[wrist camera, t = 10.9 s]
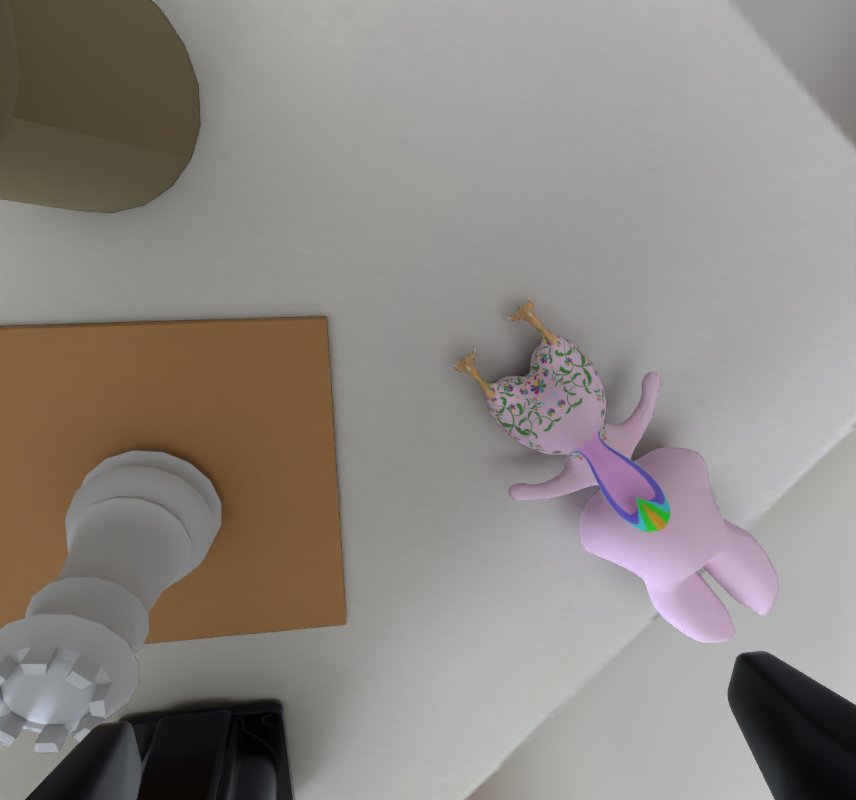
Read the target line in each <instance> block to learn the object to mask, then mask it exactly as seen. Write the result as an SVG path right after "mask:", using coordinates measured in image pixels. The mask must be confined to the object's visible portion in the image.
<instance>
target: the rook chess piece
mask: <svg viewBox="0 0 856 800" xmlns="http://www.w3.org/2000/svg"><path fill="white" fill-rule="evenodd" d="M65 525H66V534H67V537H66V538H67V547H68V556H67V559H66V561H65V563H64V565H63V568H62V570H61V572H60V574H59V575H58V577H57V578H56V580H55V581H54V582H53V583H50V584H48V585H47V586H45V587H44V588H43V589H42V590H40V591H39V592H38V593H37V594H35V595H34V596H33V597H32V599H31V601H30V603H29V606H28V608H27V610H26V613H25V618H24V619H21V620H18V621H14V622H11V623H8V624H7V625H5V626H4V627H3V628H2V629H0V743H2V744H4V745H6V746H8V747H10V746H11V744H12V743H13V742H14V741H15V740H16V738H17V737H18V735H19V733H20V731H21V730H22V729H26V730H31V731H35V732H39V733H41V734H40V735H39V737H38V739H37V741H36V743H35V749H34V753H49V752H59V751H60V749H61V747H62V745H63V743H64V741H65V739H66V737H67V735H68V733H70V732H73V731H75V732H74V735H73V737H72V738H73V739H75V740H76V741H77V742H78V743H80V741H81V740H82V739H83V738H84V737H85V736H86V735H87V734H88V733H89V732H90V731H91V730H92V729H93V728H95V727H96V726H98V725H100V724H102V722H103V720H104V719H106V718H108V717H110V716H111V715H112V714H114V713H115V712H116V711H118V710H119V709H120V708H122V707H123V706H124V705H126V704H127V703H128V702H129V701H130V699H131V698H132V696H133V694H134V692H135V690H136V688H137V686H138V684H139V668H138V660H137V658H136V656H135V655H134V653H135V652H137V651H138V650H139V649H141V647H142V645H143V643H144V642H145V640H146V638H147V636H148V634H149V620H148V613H149V611H150V610H151V608H152V607H153V605H154V604H155V602H156V601H157V599H158V598H159V596H160V595H161V593H162V592H163V590H164V589H167V588H168V587H169V586H171V585H172V584H173V583H174V582H176V581H179V580H181V579H182V578H183V577H184V576H186V575H187V574H188V573H190V572H191V571H192V570H193V569H195V568H196V567H197V566H198V565H199V564H200V563H201V562H202V561H203V560H204V558H205V556H206V554H207V552H208V550H209V548H210V546H211V544H212V542H213V541H214V538H215V536H216V534H217V532H218V530H219V528H220V527H221V501H220V499H219V497H218V495H217V493H216V491H215V489H214V487H213V485H212V483H211V481H210V480H209V479H208V478H207V477H206V476H204V475H203V474H202V473H201V472H200V471H199V470H198V469H196V468H195V467H194V466H193V465H192V464H191V463H189V462H187V461H184V460H182V459H179V458H176V457H174V456H171V455H169V454H166V453H164V452H151V451H130V452H127V453H123V454H120V455H117V456H113V457H110V458H107V459H105V460H104V461H103V462H101V463H100V464H99V465H98V466H97V467H95V468H94V469H93V470H92V471H91V472H89V473H88V474H87V475H86V476H85V479H84V481H83V483H82V486H81V487H80V488H79V489H78V490H77V491H76V493H75V495H74V497H73V500H72V502H71V504H70V507H69V509H68V511H67V515H66V519H65Z"/></svg>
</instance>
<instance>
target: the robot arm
mask: <svg viewBox="0 0 856 800" xmlns="http://www.w3.org/2000/svg"><path fill="white" fill-rule="evenodd" d="M728 700H729V704H730V708H731V710H732V712H733V714H734V716H735V718H736V720H737V723H738V725H739V727H740V729H741V731H742V733H743V735H744V737H745V739H746V741H747V743H748V745H749V747H750V749H751V751H752V754H753V756H754V758H755V760H756V762H757V764H758V766H759V768H760V770H761V772H762V774H763V776H764V778H765V781H766V782H767V785H768V786H769V789H770V791H771V793H772V795H773V797H774V799H775V800H856V705H855V704H853V703H851V702H850V701H848V700H846V699H845V698H843V697H841V696H840V695H838V694H836V693H835V692H833V691H831V690H830V689H828V688H826V687H825V686H823V685H821V684H820V683H818V682H817V681H815V680H813V679H812V678H810V677H808V676H807V675H805V674H803V673H802V672H800V671H798V670H797V669H795V668H793V667H792V666H790V665H788V664H787V663H785V662H783V661H782V660H780V659H778V658H777V657H775V656H774V655H772V654H769V653H768V652H764V651H756V652H747V653H742V654H740V655H739V656H738V657H737V658H736V660H735V664H734V668H733V672H732V676H731V680H730V683H729V687H728ZM268 715H273V716H268ZM25 800H295V796H294V788H293V780H292V772H291V764H290V756H289V748H288V740H287V732H286V724H285V716H284V709H283V707H282V706H281V705H280V704H278V703H275V702H268V703H259V704H250V705H240V706H231V707H222V708H213V709H204V710H195V711H186V712H177V713H167V714H158V715H149V716H140V717H131V718H124V719H121V720H119V721H118V722H113V723H104V724H100V725H98V726H96V727H95V728H93V729H92V730H91V731H90V732H89V733H88V734H87V735H86V736H85V737H84V738H83V739H82V740H81V741H80V743H79V744H78V745H77V746H76V747H75V748H74V749H73V750H72V751H71V752H70V753H69V754H68V755H67V756H66V757H65V758H64V759H63V760H62V761H61V762H60V764H59V765H58V766H57V767H56V768H55V769H54V770H53V771H52V772H51V773H50V774H49V775H48V776H47V777H46V778H45V779H44V780H43V781H42V782H41V784H40V785H39V786H38V787H37V788H36V789H35V790H34V791H33V792H32V793H31V794H30V795H29V796H28V797H27V798H26V799H25Z"/></svg>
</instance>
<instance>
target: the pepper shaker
mask: <svg viewBox="0 0 856 800" xmlns="http://www.w3.org/2000/svg"><path fill="white" fill-rule="evenodd" d="M199 127H200V109H199V87H198V83H197V80H196V77H195V74H194V71H193V68H192V65H191V62H190V59H189V56H188V53H187V50H186V47H185V45H184V44H183V42H182V41H181V39H180V38H179V36H178V35H177V33H176V32H175V30H174V28H173V27H172V25H171V24H170V22H169V21H168V19H167V18H166V16H165V15H164V13H163V12H162V10H161V9H160V8H159V7H158V6H157V5H156V4H155V3H154V2H153V1H151V0H0V199H2V200H9V201H15V202H22V203H29V204H36V205H42V206H49V207H56V208H63V209H70V210H78V211H90V212H103V213H114V212H118V211H122V210H126V209H130V208H134V207H138V206H142V205H145V204H146V203H148V202H149V201H151V200H152V199H154V198H155V197H157V196H158V195H160V194H161V193H163V192H164V191H166V190H167V189H169V188H170V187H172V185H173V184H174V182H175V181H176V180H177V178H178V177H179V175H180V174H181V172H182V171H183V170H184V168H185V167H186V165H187V164H188V163H189V161H190V160H191V157H192V153H193V149H194V146H195V142H196V138H197V135H198V131H199Z"/></svg>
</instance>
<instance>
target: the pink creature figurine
mask: <svg viewBox="0 0 856 800" xmlns="http://www.w3.org/2000/svg"><path fill="white" fill-rule="evenodd" d="M528 300H529V302H527V303H526V304H525V305H524V306H521V305H520V304H519V308H520V309H519V310H518V311H517V312H516V313H515V317H513V318H512V317H507V318H508V319H509V320H511V321H514V320H520V319H521V318H522V319H523V320H525V321H528V322H529V323H531V324H532V325H533V326H535V327H536V329H537V330H538V331H539V333H540V335H541V344H540V345H538V346H537V348H536V349H535V350H534V352H533V353H532V356H531V362H530V371H529V373H528V374H527V375H525V376H506V377H503V378H501V379H500V380H498V381H497V382H496V383H489V382H487V381H485V380H484V379H483V378H482V377H481V376H480V375H479V374H478V372H477V370H476V368H475V365H474V362H473V360H475V355H476V349H475V348H474V347H473V354H472V355H471V354H470V355H468V356H467V357H466V358H462V357H460V359H461V362H460V363H459V364H457V366H454V365H452V366H453V367H454V368H455V369H456V370H457V371H464V372H466V373H467V374H469V375H470V376H471V377H472V378H473V379H474V380H475V381H477V382H478V383H479V384H480V385H481V387H482V389H483V391H484V393H485V395H486V401H487V405H488V409H489V412H490V414H491V415H492V417H493V418H494V419H495V420H496V422H497V423H498V424H499V425H500V426H501V427H502V428H503V429H504V430H505V431H506V432H507V433H508V434H509V435H510V436H511V437H512V438H513V439H515V440H516V441H518V442H519V443H521V444H522V445H524V446H526V447H528V448H531V449H533V450H535V451H538V452H541V453H544V454H550V455H561V454H564V456H565V468H564V470H563V471H562V473H561V474H560V475H558V476H557V477H555V478H553V479H552V480H549V481H547V482H544V483H541V484H536V485H531V484H525V483H516V484H513V485H512V486H511V487H510V489H509V495H510V496H511V497H512V498H513V499H515V500H538V499H549V498H554V497H558V496H561V495H565V494H569V493H572V492H575V491H578V490H581V489H583V488H586V487H590V486H599V487H600V489H599V490H598V491H597V492H596V493H595V494H594V495H593V496H592V497H591V499H590V500H589V501H588V502H587V504H586V505H585V507H584V508H583V511H582V513H581V517H580V524H579V538H580V542H581V545H582V546H583V548H584V549H585V550H586V551H588V552H590V553H591V554H594V555H596V556H598V557H601V558H603V559H606V560H609V561H611V562H614V563H616V564H618V565H620V566H622V567H624V568H626V569H628V570H630V571H631V572H633V573H634V574H636V575H637V576H639V577H641V578H642V579H643V580H644V582H645V584H646V587H647V590H648V594H649V596H650V599H651V601H652V603H653V605H654V607H655V608H656V610H657V611H658V612H659V613H660V614H661V615H662V616H663V617H664V618H665V619H666V620H667V621H668V622H669V623H670V624H671V625H673V626H674V627H675V628H677V629H678V630H680V631H681V632H683V633H684V634H685V635H687V636H689V637H691V638H693V639H695V640H697V641H701V642H708V643H715V642H722V641H726V640H730V639H732V638H734V637H735V636H736V630H735V628H734V626H733V624H732V621H731V618H730V615H729V612H728V610H727V609H726V607H725V605H724V604H723V603H722V601H721V600H720V599H719V598H718V596H717V595H716V594H715V593H714V591H713V590H712V589H711V588H710V586H709V585H708V584H707V583H706V582H705V580H704V579H703V578H702V577H701V576H700V575H699V573H698V572H697V571H698V570H699V569H700V568H702V567H704V568H705V569H706V570H707V572H708V573H709V574H710V575H711V576H712V577H713V578H714V579H715V580H716V581H717V582H718V583H719V584H720V585H721V586H722V587H723V588H724V589H725V590H726V591H727V592H728V593H729V594H730V596H731V597H733V598H734V599H735V600H736V601H738V602H739V603H740V604H742V605H744V606H746V607H748V608H750V609H751V610H753V611H755V612H756V613H758V614H760V615H766V614H767V613H768V612H769V611H770V610H771V608H772V606H773V605H774V603H775V601H776V598H777V595H778V590H779V581H778V576H777V573H776V571H775V569H774V567H773V565H772V563H771V561H770V559H769V557H768V555H767V554H766V552H765V550H764V549H763V548H762V546H761V545H760V544H759V543H758V541H757V540H756V539H755V538H754V537H753V536H752V535H751V534H749V533H748V532H747V531H745V530H743V529H742V528H740V527H738V526H736V525H733V524H731V523H729V522H727V521H726V520H724V519H723V518H722V516H721V514H720V512H719V509H718V507H717V505H716V502H715V500H714V497H713V494H712V490H711V486H710V482H709V477H708V472H707V468H706V464H705V461H704V459H703V458H702V456H701V455H700V454H699V453H697V452H695V451H693V450H690V449H685V448H676V447H665V448H659V449H656V450H653V451H651V452H649V453H647V454H645V455H643V456H642V457H640V458H639V459H637V460H635V461H634V462H633V461H632V460H631V456H632V454H633V451H634V449H635V447H636V445H637V444H638V442H639V441H640V439H641V438H642V436H643V434H644V432H645V430H646V428H647V426H648V424H649V422H650V420H651V418H652V416H653V413H654V411H655V407H656V404H657V399H658V395H659V391H660V387H661V377H660V375H659V374H658V373H657V372H649V373H647V374H646V375H645V376H644V378H643V381H642V396H641V400H640V402H639V404H638V406H637V407H636V409H635V410H634V412H633V413H632V414H631V416H630V417H629V418H628V419H627V420H625V421H624V422H622V423H620V424H610V423H607V422H604V419H605V414H606V406H607V405H606V397H605V392H604V388H603V385H602V382H601V379H600V377H599V374H598V372H597V371H596V369H595V367H594V366H593V364H592V363H591V361H590V360H589V359H588V358H587V356H586V355H585V354H584V353H583V352H582V351H581V350H580V348H579V347H578V346H577V345H575V344H574V343H573V342H572V341H570V340H568V339H565V338H562V337H559V336H556V335H553V334H552V333H550V332H549V331H547V330H546V329H545V328H544V327H543V326H542V324H541V322H540V321H539V319H538V318H537V317H536V315H535V314H534V311H533V310H532V309H533V307H534V305H533V302H532V301H531V299H530V298H529V297H528Z"/></svg>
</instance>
